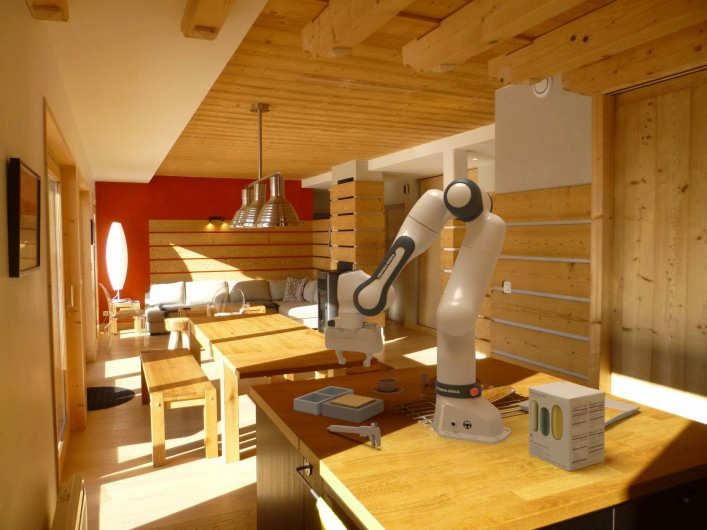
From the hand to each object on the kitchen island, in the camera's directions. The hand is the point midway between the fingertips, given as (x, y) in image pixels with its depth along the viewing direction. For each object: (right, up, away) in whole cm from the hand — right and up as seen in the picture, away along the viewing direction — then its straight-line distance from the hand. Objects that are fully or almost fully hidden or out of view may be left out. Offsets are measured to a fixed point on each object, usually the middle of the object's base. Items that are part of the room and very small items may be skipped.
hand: (354, 365), depth 178 cm
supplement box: (+53, -17, -36) cm, 66 cm away
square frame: (0, -16, +1) cm, 16 cm away
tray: (-10, -15, +10) cm, 21 cm away
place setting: (+16, -15, +27) cm, 35 cm away
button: (0, -15, +1) cm, 15 cm away
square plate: (+70, -16, -1) cm, 72 cm away
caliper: (-1, -18, -22) cm, 28 cm away
